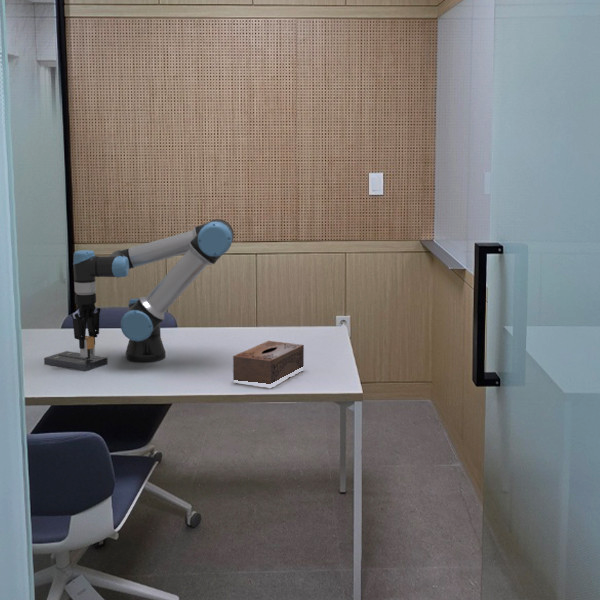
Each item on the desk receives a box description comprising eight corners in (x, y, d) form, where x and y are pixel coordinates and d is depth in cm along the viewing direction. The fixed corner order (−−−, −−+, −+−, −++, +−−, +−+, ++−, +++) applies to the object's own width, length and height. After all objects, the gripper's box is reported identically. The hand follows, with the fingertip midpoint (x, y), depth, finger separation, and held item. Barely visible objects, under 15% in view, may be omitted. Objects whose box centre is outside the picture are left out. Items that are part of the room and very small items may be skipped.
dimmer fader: (94, 358, 332) (94, 337, 330) (89, 360, 329) (88, 338, 327) (86, 357, 333) (85, 335, 332) (80, 358, 331) (79, 337, 329)
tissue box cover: (270, 389, 304) (270, 360, 303) (233, 384, 311) (233, 356, 309) (303, 371, 327) (303, 344, 325) (268, 367, 333) (268, 340, 332)
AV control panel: (107, 364, 335) (107, 357, 334) (85, 371, 324) (85, 364, 324) (67, 357, 344) (66, 350, 344) (44, 364, 334) (44, 357, 333)
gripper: (92, 288, 335) (94, 349, 340) (61, 295, 321) (64, 359, 326) (108, 290, 332) (110, 352, 336) (77, 297, 318) (80, 361, 322)
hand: (87, 355), depth 331 cm, fingers closed on dimmer fader, 3 cm apart
